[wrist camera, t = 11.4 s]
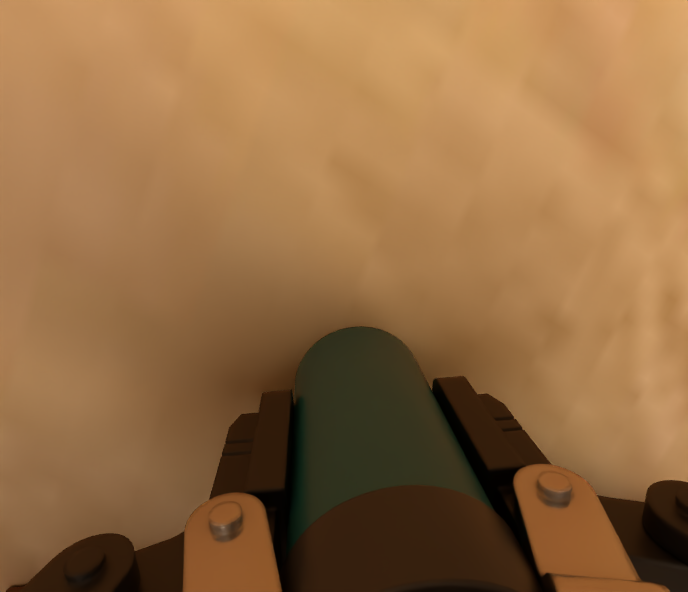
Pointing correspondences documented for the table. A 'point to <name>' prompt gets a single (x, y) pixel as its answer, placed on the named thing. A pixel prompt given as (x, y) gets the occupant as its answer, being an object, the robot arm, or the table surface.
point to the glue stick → (386, 482)
